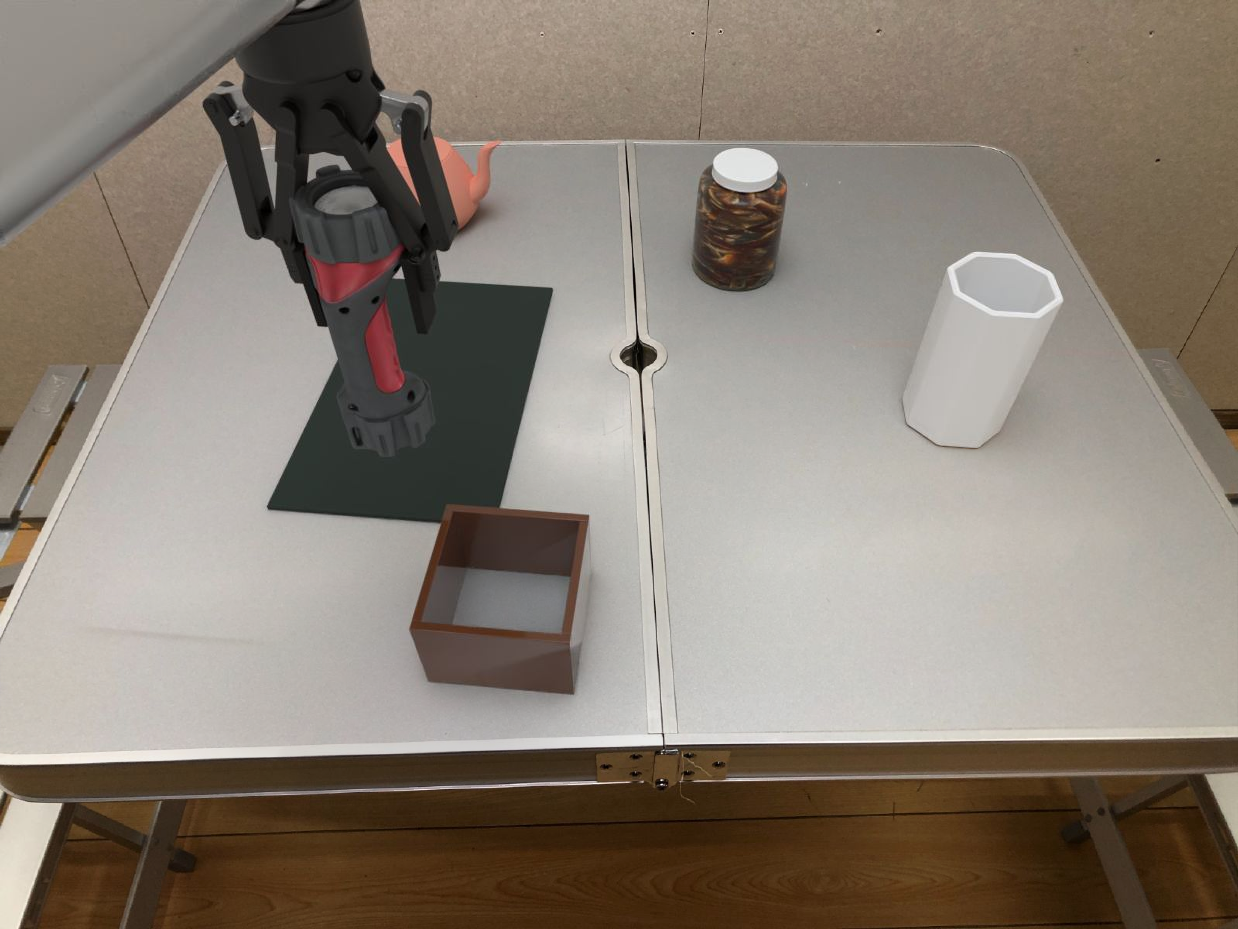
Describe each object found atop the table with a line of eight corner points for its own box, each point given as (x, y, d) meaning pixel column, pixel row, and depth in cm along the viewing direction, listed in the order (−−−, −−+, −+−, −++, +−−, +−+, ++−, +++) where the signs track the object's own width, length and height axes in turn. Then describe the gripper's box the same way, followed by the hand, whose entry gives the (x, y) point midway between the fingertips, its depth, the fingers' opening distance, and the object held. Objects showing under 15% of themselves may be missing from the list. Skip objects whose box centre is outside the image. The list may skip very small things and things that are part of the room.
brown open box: (427, 682, 74) (408, 629, 67) (460, 560, 83) (446, 503, 76) (574, 695, 73) (569, 643, 67) (592, 571, 82) (589, 514, 75)
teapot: (515, 192, 129) (507, 113, 119) (502, 248, 119) (492, 167, 109) (374, 188, 129) (355, 110, 120) (348, 244, 119) (326, 163, 110)
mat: (267, 509, 87) (266, 506, 87) (378, 280, 114) (377, 277, 113) (494, 527, 86) (494, 524, 85) (553, 290, 112) (552, 287, 112)
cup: (914, 370, 101) (961, 238, 88) (1009, 401, 98) (1073, 268, 84) (888, 429, 95) (934, 295, 81) (988, 463, 91) (1054, 331, 77)
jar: (792, 264, 116) (811, 163, 105) (740, 302, 110) (754, 199, 99) (726, 231, 121) (737, 132, 110) (673, 266, 116) (679, 164, 104)
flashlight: (469, 412, 73) (423, 170, 56) (422, 474, 69) (355, 230, 52) (394, 389, 75) (327, 148, 58) (343, 447, 71) (254, 204, 54)
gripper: (478, -31, 48) (516, 297, 65) (146, -44, 49) (270, 280, 66) (445, 21, 43) (496, 361, 60) (77, 5, 44) (230, 341, 61)
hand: (377, 318), depth 63 cm, fingers closed on flashlight, 7 cm apart
